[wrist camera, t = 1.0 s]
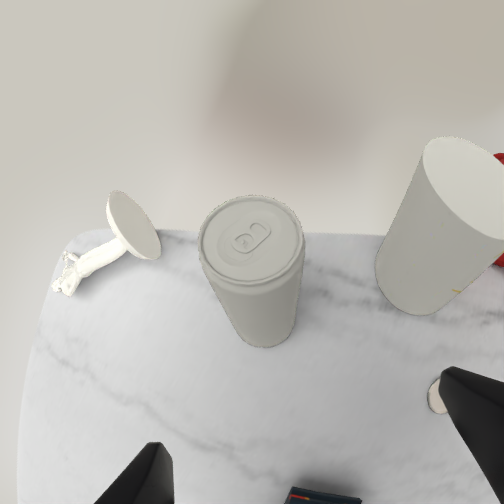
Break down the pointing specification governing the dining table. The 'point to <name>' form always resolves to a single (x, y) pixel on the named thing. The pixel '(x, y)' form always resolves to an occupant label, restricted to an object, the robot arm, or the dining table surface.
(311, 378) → the dining table surface
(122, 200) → the figurine
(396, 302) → the cup
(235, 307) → the beverage can
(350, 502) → the toy car
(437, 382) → the ashtray
